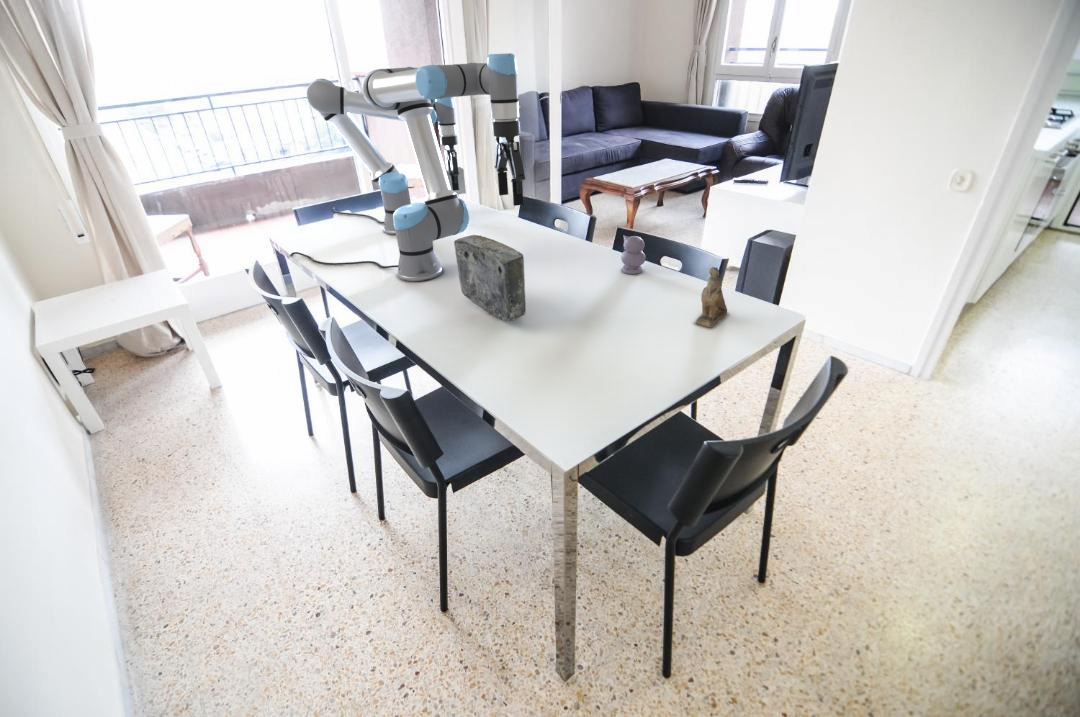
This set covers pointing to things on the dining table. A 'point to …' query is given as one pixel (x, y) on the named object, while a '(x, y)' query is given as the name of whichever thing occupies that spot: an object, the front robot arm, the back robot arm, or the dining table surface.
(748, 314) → the dining table surface
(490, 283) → the concrete block
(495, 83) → the front robot arm
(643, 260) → the cat figurine
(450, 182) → the brick
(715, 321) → the worn brown figurine
